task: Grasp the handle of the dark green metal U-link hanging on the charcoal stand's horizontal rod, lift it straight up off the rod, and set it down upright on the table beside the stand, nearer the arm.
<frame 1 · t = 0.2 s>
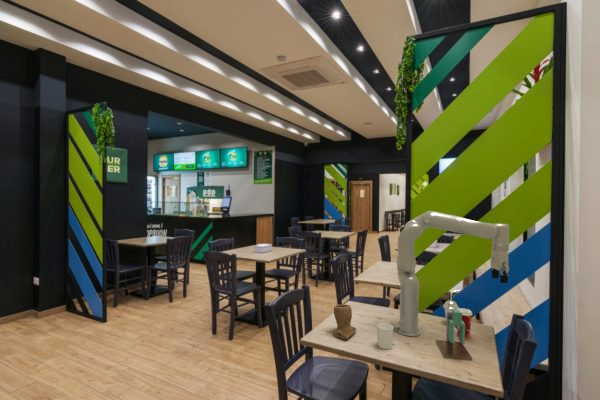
hand: (499, 280, 168), 31 cm above the table, fingers open, 9 cm apart
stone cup: (343, 334, 173), on the table
soap dispenser: (451, 324, 188), on the table
paper cup: (463, 336, 172), on the table
green link: (456, 341, 151), point 7 cm above the table, touching hook stand
white cup: (384, 346, 160), on the table
hook stand: (453, 350, 156), on the table
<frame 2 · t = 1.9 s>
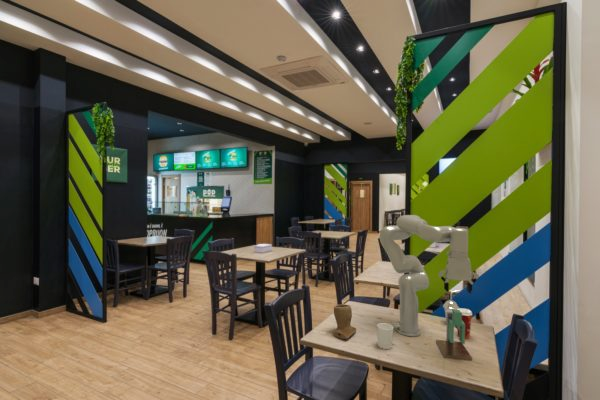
hand: (457, 291, 150), 30 cm above the table, fingers open, 9 cm apart
nothing on the table moved.
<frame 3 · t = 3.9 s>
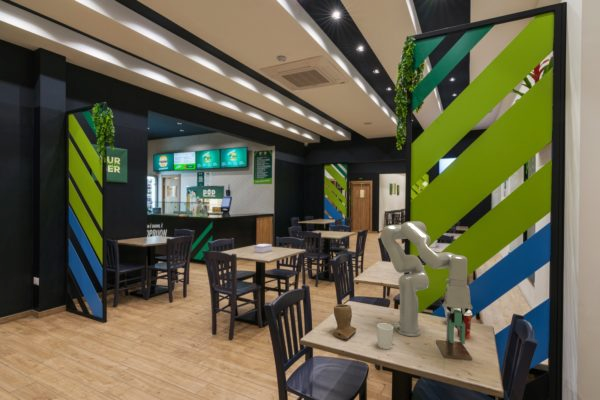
hand: (456, 321, 151), 16 cm above the table, fingers closed on green link, 3 cm apart
green link: (456, 341, 151), point 7 cm above the table, touching gripper, hook stand
everything else where it was.
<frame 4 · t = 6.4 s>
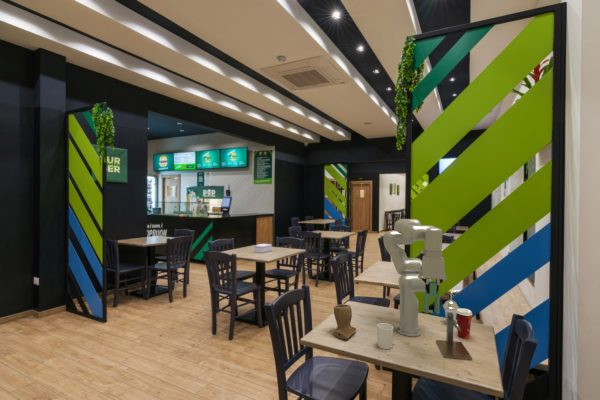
hand: (431, 292, 153), 29 cm above the table, fingers closed on green link, 3 cm apart
green link: (431, 312, 154), point 19 cm above the table, touching gripper
everything else where it was.
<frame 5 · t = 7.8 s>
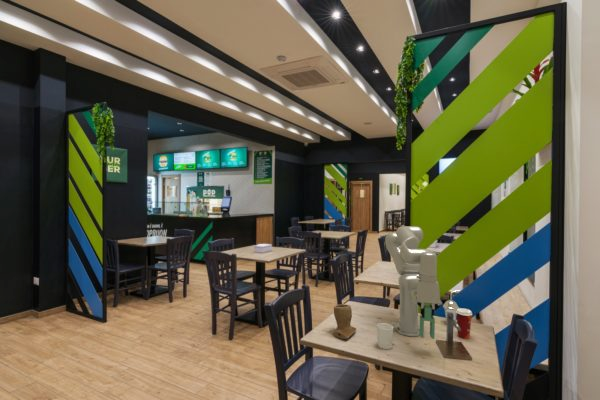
hand: (427, 316, 154), 17 cm above the table, fingers closed on green link, 3 cm apart
green link: (426, 336, 154), point 8 cm above the table, touching gripper
everything else where it was.
when the fingers open (11 cm above the table, at t = 9.1 s): green link drops 2 cm, on the table.
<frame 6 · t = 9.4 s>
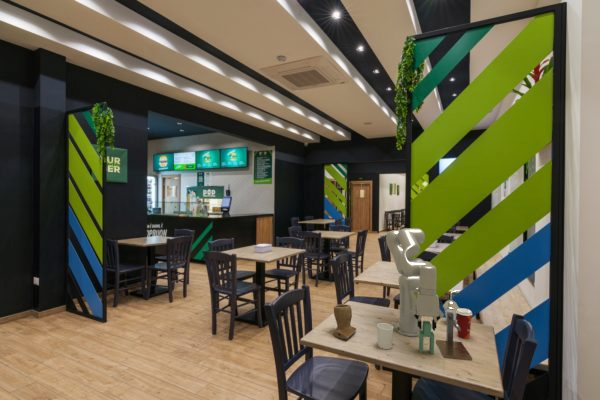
hand: (426, 328, 154), 11 cm above the table, fingers open, 5 cm apart
green link: (426, 351, 155), on the table
everything else where it was.
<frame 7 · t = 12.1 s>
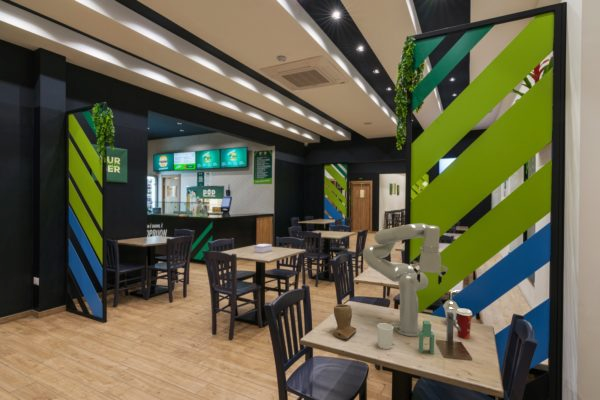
hand: (428, 282, 167), 30 cm above the table, fingers open, 9 cm apart
nothing on the table moved.
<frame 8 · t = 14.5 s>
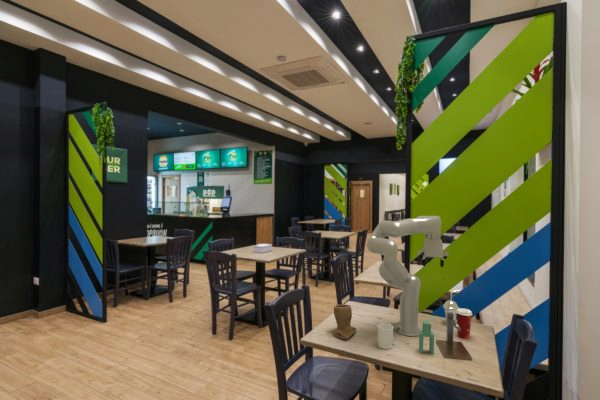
hand: (432, 266, 188), 33 cm above the table, fingers open, 9 cm apart
nothing on the table moved.
at the end: green link inside the target area (0.3 cm from its centre), on the table; green link tilted 0°; green link touching table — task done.
